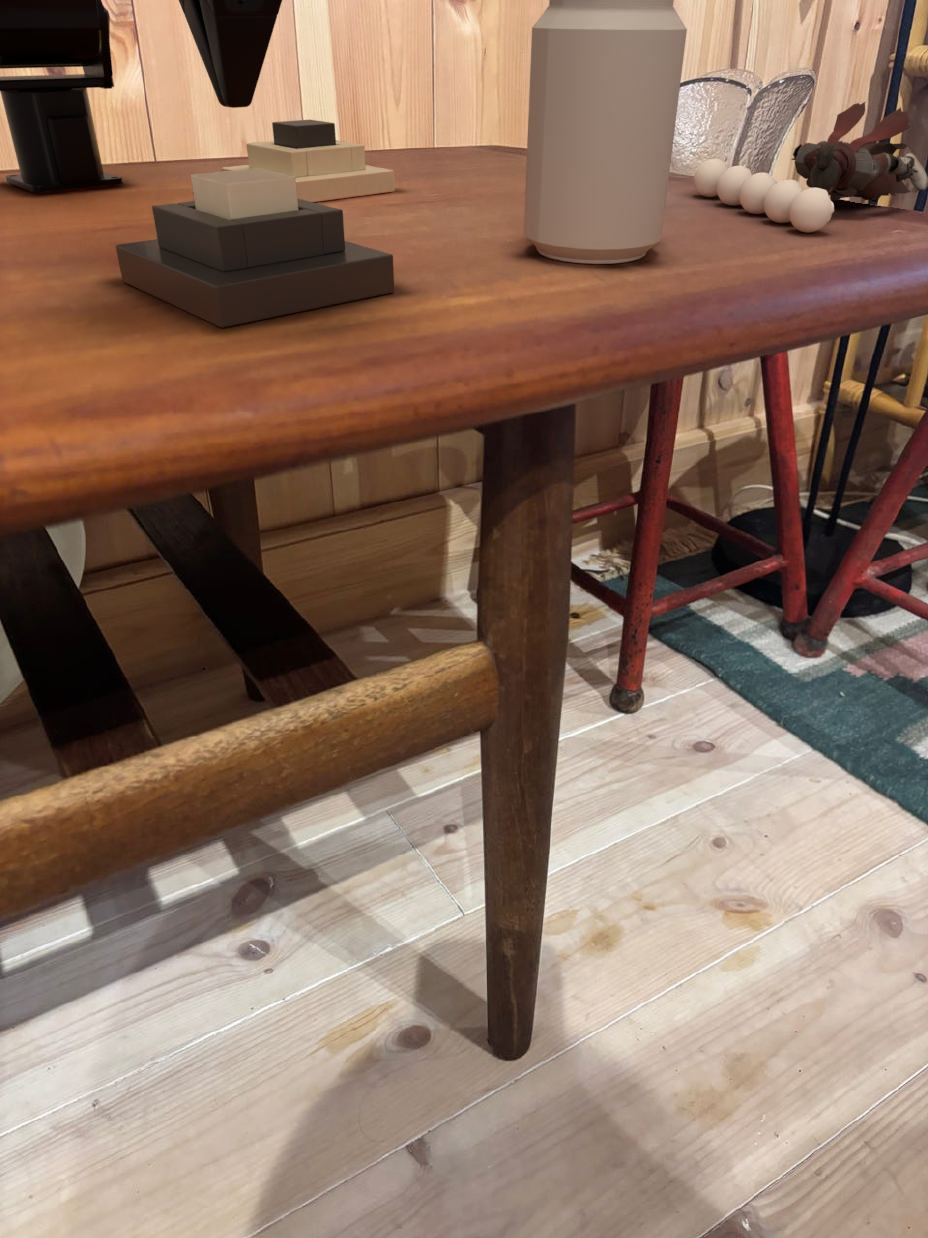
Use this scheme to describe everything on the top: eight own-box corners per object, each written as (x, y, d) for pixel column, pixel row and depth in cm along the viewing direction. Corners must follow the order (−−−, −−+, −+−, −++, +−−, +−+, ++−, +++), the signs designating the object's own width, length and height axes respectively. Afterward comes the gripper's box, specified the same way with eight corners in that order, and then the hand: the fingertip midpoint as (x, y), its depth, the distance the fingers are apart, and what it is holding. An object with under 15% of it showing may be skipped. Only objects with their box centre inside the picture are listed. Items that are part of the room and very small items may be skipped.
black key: (274, 149, 65) (271, 122, 64) (312, 146, 66) (310, 119, 65) (298, 154, 63) (295, 125, 62) (336, 150, 64) (334, 122, 63)
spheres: (723, 156, 64) (715, 194, 65) (691, 155, 64) (684, 193, 65) (847, 191, 52) (835, 236, 53) (810, 189, 52) (798, 235, 53)
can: (689, 256, 49) (726, -15, 42) (583, 274, 45) (606, -19, 38) (597, 232, 54) (617, -14, 47) (495, 246, 50) (502, -16, 44)
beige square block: (196, 216, 41) (190, 174, 40) (261, 207, 43) (257, 167, 42) (232, 227, 39) (227, 183, 38) (299, 218, 41) (295, 175, 40)
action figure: (821, 189, 70) (746, 203, 57) (840, 100, 67) (766, 94, 54) (931, 198, 67) (878, 215, 54) (956, 104, 64) (907, 99, 50)
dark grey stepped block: (122, 281, 44) (106, 203, 42) (282, 255, 48) (275, 183, 46) (221, 328, 37) (208, 238, 35) (395, 292, 42) (392, 211, 40)
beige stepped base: (223, 188, 66) (217, 142, 65) (326, 176, 71) (323, 133, 69) (288, 205, 61) (283, 155, 59) (395, 191, 65) (393, 145, 64)
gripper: (-166, -414, 31) (-30, 101, 40) (17, -663, 20) (153, 141, 28) (139, -344, 37) (199, 90, 46) (417, -504, 26) (427, 119, 34)
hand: (235, 106), depth 39 cm, fingers closed
